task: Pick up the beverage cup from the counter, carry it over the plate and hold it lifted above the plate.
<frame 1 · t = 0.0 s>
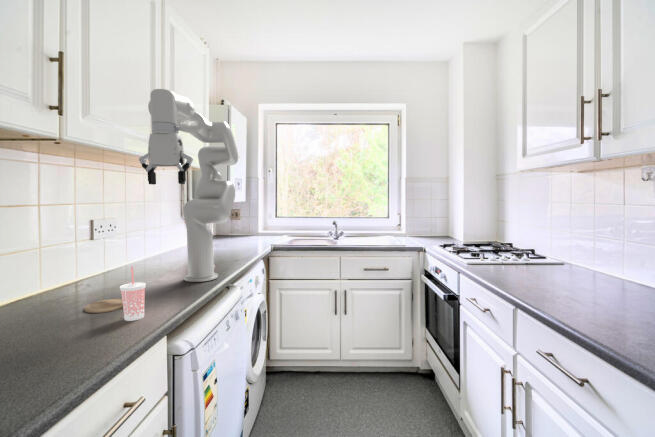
hand: (167, 184, 110), 37 cm above the worktop, tool pointing down, fingers open, 9 cm apart
beverage cup: (134, 318, 92), on the worktop
plate: (107, 306, 102), on the worktop
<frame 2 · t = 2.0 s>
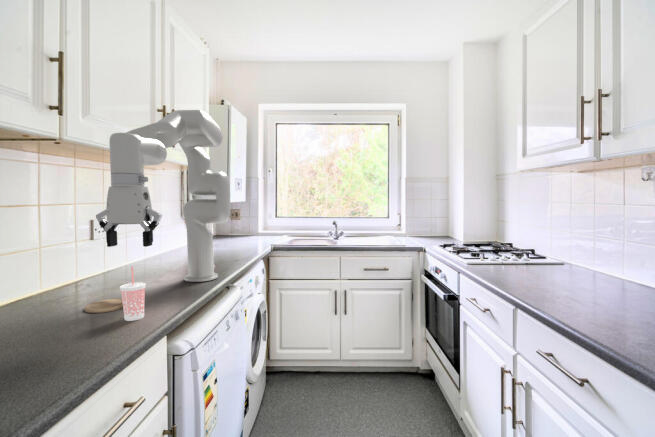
hand: (130, 246, 91), 20 cm above the worktop, tool pointing down, fingers open, 9 cm apart
nothing on the worktop moved.
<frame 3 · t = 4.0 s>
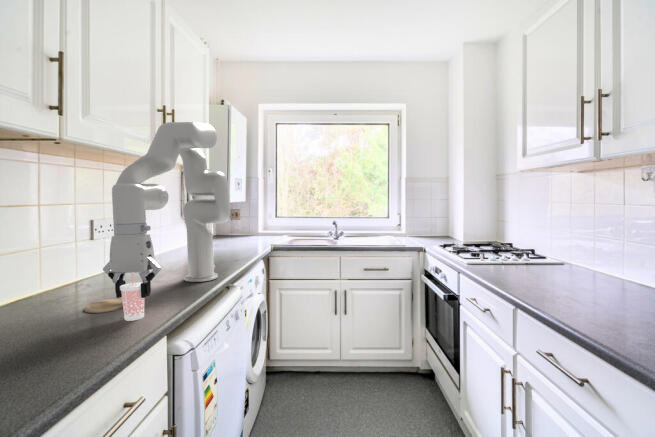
hand: (133, 295, 92), 6 cm above the worktop, tool pointing down, fingers closed on beverage cup, 6 cm apart
beverage cup: (134, 318, 92), on the worktop, touching gripper
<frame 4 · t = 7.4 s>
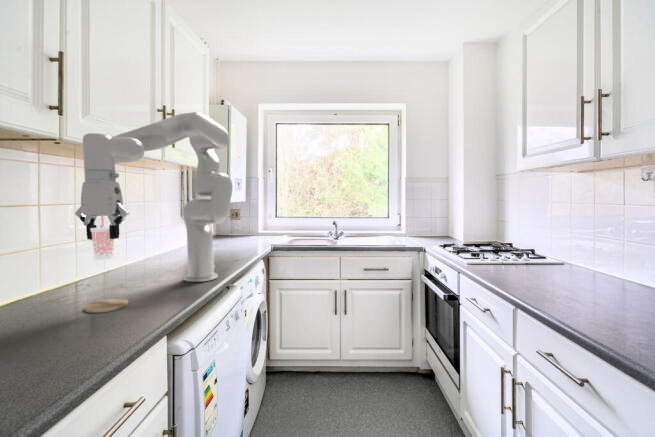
hand: (103, 238, 100), 21 cm above the worktop, tool pointing down, fingers closed on beverage cup, 6 cm apart
beverage cup: (104, 258, 101), point 14 cm above the worktop, touching gripper
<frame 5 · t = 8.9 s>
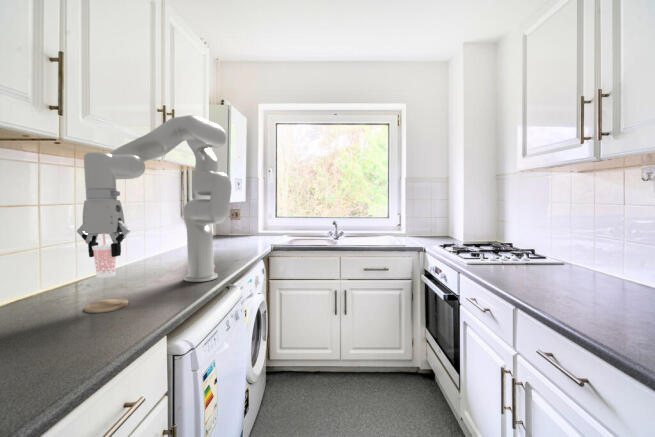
hand: (105, 255, 101), 15 cm above the worktop, tool pointing down, fingers closed on beverage cup, 6 cm apart
beverage cup: (106, 276, 101), point 9 cm above the worktop, touching gripper
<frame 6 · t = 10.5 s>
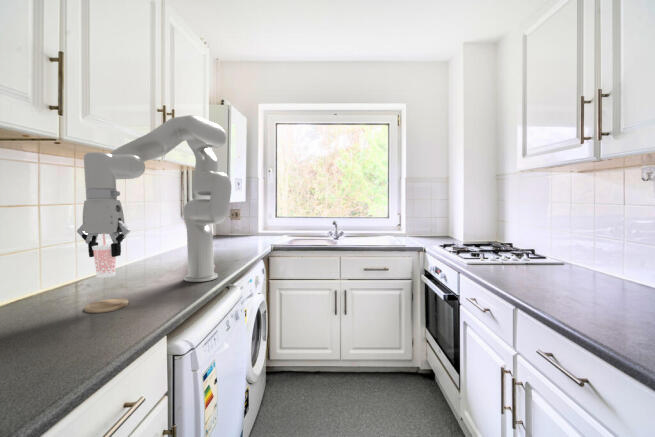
hand: (105, 255, 101), 15 cm above the worktop, tool pointing down, fingers closed on beverage cup, 6 cm apart
beverage cup: (106, 276, 101), point 9 cm above the worktop, touching gripper
at the end: the gripper is holding beverage cup; beverage cup point 9.2 cm above the worktop; beverage cup 0.2 cm from the plate (horizontally) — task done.
